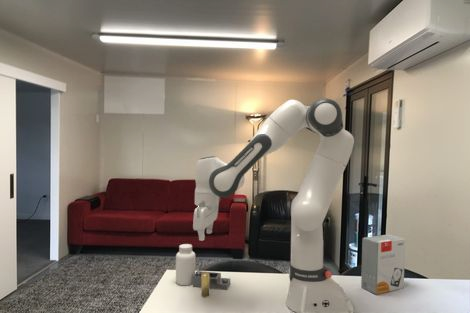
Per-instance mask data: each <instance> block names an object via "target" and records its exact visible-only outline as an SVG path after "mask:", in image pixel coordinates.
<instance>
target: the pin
mask: <svg viewBox="0 0 470 313" xmlns="http://www.w3.org/2000/svg"><path fill="white" fill-rule="evenodd" d="M200 288H201V291H200V292H201V297H202V298H208V297H209V296H210V288H209V273H202V274H201V287H200Z"/></svg>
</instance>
